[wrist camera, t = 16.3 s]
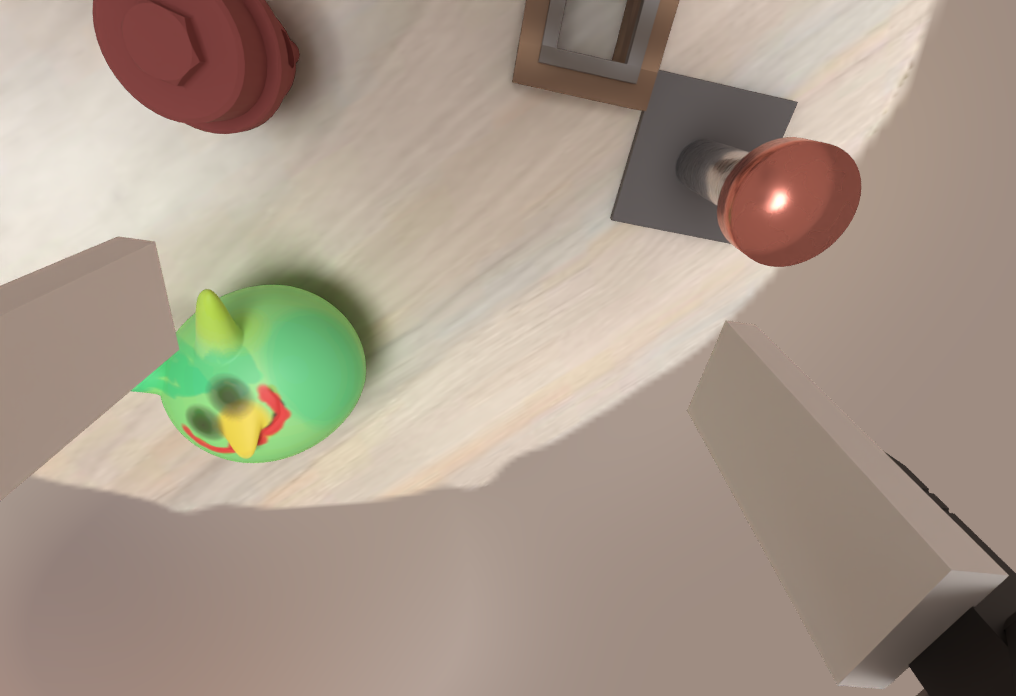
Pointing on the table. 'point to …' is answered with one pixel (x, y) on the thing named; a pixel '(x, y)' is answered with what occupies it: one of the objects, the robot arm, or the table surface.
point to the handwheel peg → (775, 195)
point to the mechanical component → (199, 59)
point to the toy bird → (261, 373)
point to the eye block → (593, 76)
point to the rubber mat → (675, 124)
